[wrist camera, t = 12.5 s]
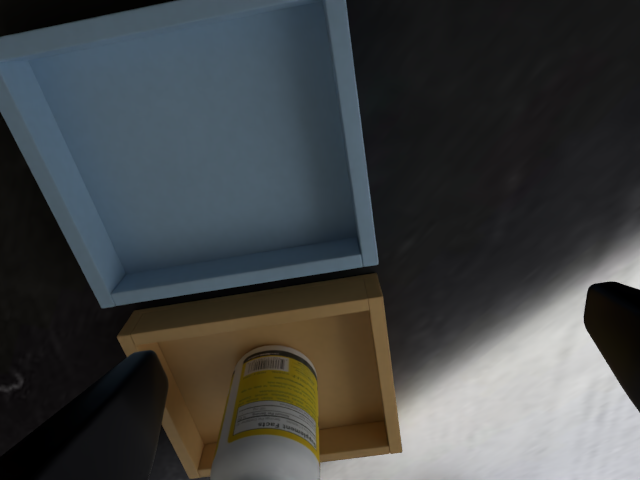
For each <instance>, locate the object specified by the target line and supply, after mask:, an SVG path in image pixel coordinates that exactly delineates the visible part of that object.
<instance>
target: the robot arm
mask: <svg viewBox="0 0 640 480" xmlns="http://www.w3.org/2000/svg"><path fill="white" fill-rule="evenodd" d="M584 324H585V327H586V329H587V331H588V333H589V334H590V336H591V338H592V339H593V341H594V342H595V344H596V346H597V347H598V349H599V351H600V352H601V354H602V355H603V357H604V359H605V360H606V362H607V364H608V365H609V367H610V368H611V370H612V372H613V373H614V375H615V376H616V378H617V380H618V381H619V383H620V385H621V386H622V388H623V389H624V391H625V392H626V394H627V395H628V397H629V398H630V400H631V401H632V402H633V404H634V405H635V406H636V408H637V409H638V411H639V412H640V290H638V289H635V288H632V287H629V286H626V285H623V284H620V283H617V282H604V283H597V284H593V285H591V286H590V287H589V289H588V292H587V298H586V305H585V311H584ZM168 388H169V383H168V378H167V375H166V373H165V371H164V369H163V367H162V364H161V362H160V360H159V358H158V356H157V354H156V353H155V352H154V351H152V350H146V351H139V352H134V353H132V354H131V355H129V356H128V357H127V358H126V359H124V360H123V361H122V362H120V363H119V364H118V365H117V366H115V367H114V368H113V369H112V370H110V371H109V372H108V373H106V374H105V375H104V376H103V377H101V378H100V379H99V380H98V381H96V382H95V383H94V384H92V385H91V386H90V387H89V388H87V389H86V390H85V391H84V392H82V393H81V394H80V395H78V396H77V397H76V398H75V399H73V400H72V401H71V402H70V403H68V404H67V405H66V406H64V407H63V408H62V409H61V410H59V411H58V412H57V413H56V414H54V415H53V416H52V417H51V418H49V419H48V420H47V421H45V422H44V423H43V424H42V425H40V426H39V427H38V428H37V429H35V430H34V431H33V432H31V433H30V434H29V435H28V436H26V437H25V438H24V439H23V440H21V441H20V442H19V443H17V444H16V445H15V446H14V447H12V448H11V449H10V450H9V451H7V452H6V453H5V454H3V455H2V456H1V457H0V480H148V479H149V475H150V472H151V468H152V465H153V461H154V458H155V453H156V449H157V444H158V439H159V434H160V429H161V424H162V419H163V414H164V409H165V404H166V399H167V394H168Z"/></svg>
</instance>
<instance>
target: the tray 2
mask: <svg viewBox="0 0 640 480" xmlns="http://www.w3.org/2000/svg"><path fill="white" fill-rule="evenodd" d="M117 339H118V341H119V342H120V344H121V346H122V348H123V350H124V352H125V354H126V356H127V357H128V356H129V355H131V354H132V353H134V352H139V351H146V350H152V351H154V352H155V353H156V354H157V356H158V358H159V360H160V362H161V364H162V367H163V369H164V371H165V373H166V375H167V378H168V383H169V388H168V394H167V399H166V404H165V409H164V414H163V419H162V426H163V428H164V430H165V432H166V434H167V436H168V438H169V440H170V442H171V444H172V445H173V447H174V449H175V451H176V453H177V455H178V457H179V459H180V461H181V463H182V465H183V467H184V469H185V471H186V473H187V475H188V477H189V478H190V479H193V478H200V477H208V476H210V473H211V467H212V462H213V458H214V453H215V449H216V444H217V440H218V436H219V431H220V427H221V422H222V418H223V413H224V409H225V405H226V400H227V396H228V391H229V387H230V383H231V379H232V375H233V372H234V369H235V366H236V364H237V363H238V361H239V360H240V359H241V358H242V357H243V356H244V355H245V354H246V353H248V352H250V351H251V350H253V349H256V348H258V347H262V346H268V345H281V346H286V347H290V348H293V349H295V350H297V351H299V352H301V353H302V354H304V355H305V356H306V357H307V358H308V359H309V360H310V361H311V362H312V364H313V366H314V368H315V370H316V374H317V384H318V415H319V455H320V462H327V461H335V460H343V459H351V458H359V457H367V456H375V455H383V454H389V453H391V454H393V453H401V452H402V445H401V437H400V429H399V421H398V413H397V405H396V397H395V389H394V381H393V373H392V365H391V357H390V349H389V341H388V333H387V325H386V317H385V309H384V301H383V295H382V292H381V288H380V284H379V281H378V277H377V273H372V274H366V275H360V276H353V277H347V278H340V279H334V280H328V281H321V282H315V283H308V284H302V285H295V286H289V287H283V288H276V289H270V290H263V291H257V292H250V293H244V294H238V295H231V296H225V297H218V298H212V299H205V300H199V301H193V302H186V303H180V304H173V305H167V306H161V307H154V308H148V309H141V310H135V311H134V312H133V313H132V315H131V316H130V318H129V319H128V321H127V322H126V324H125V325H124V327H123V328H122V330H121V331H120V333H119V334H118V336H117Z"/></svg>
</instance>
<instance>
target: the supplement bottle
mask: <svg viewBox="0 0 640 480" xmlns="http://www.w3.org/2000/svg"><path fill="white" fill-rule="evenodd" d="M210 480H320V455H319V415H318V384H317V374H316V370H315V368H314V366H313V364H312V362H311V361H310V360H309V359H308V358H307V357H306V356H305V355H304V354H302V353H301V352H299V351H297V350H295V349H293V348H290V347H286V346H281V345H268V346H262V347H258V348H256V349H253V350H251V351H250V352H248V353H246V354H245V355H244V356H243V357H242V358H241V359H240V360H239V361H238V363H237V364H236V366H235V369H234V372H233V375H232V379H231V383H230V387H229V391H228V396H227V400H226V405H225V409H224V413H223V418H222V422H221V427H220V431H219V436H218V440H217V444H216V449H215V453H214V458H213V462H212V467H211V473H210Z"/></svg>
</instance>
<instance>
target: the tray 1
mask: <svg viewBox="0 0 640 480" xmlns="http://www.w3.org/2000/svg"><path fill="white" fill-rule="evenodd" d="M0 112H1V114H2V116H3V118H4V120H5V122H6V123H7V125H8V127H9V129H10V131H11V133H12V135H13V137H14V139H15V141H16V143H17V145H18V147H19V149H20V151H21V153H22V155H23V156H24V158H25V160H26V162H27V164H28V166H29V168H30V170H31V172H32V174H33V176H34V178H35V180H36V182H37V184H38V186H39V188H40V189H41V191H42V193H43V195H44V197H45V199H46V201H47V203H48V205H49V207H50V209H51V211H52V213H53V215H54V217H55V219H56V221H57V223H58V224H59V226H60V228H61V230H62V232H63V234H64V236H65V238H66V240H67V242H68V244H69V246H70V248H71V250H72V252H73V254H74V256H75V257H76V259H77V261H78V263H79V265H80V267H81V269H82V271H83V273H84V275H85V277H86V279H87V281H88V283H89V285H90V287H91V289H92V290H93V292H94V294H95V296H96V298H97V300H98V302H99V304H100V306H101V308H107V307H113V306H116V305H117V306H118V305H124V304H131V303H137V302H143V301H150V300H156V299H162V298H169V297H175V296H182V295H188V294H194V293H201V292H207V291H213V290H220V289H226V288H232V287H239V286H245V285H252V284H258V283H264V282H271V281H277V280H283V279H290V278H296V277H303V276H309V275H315V274H322V273H328V272H334V271H341V270H347V269H353V268H360V267H362V266H364V267H366V266H372V265H378V263H379V262H378V254H377V246H376V238H375V230H374V222H373V214H372V206H371V198H370V190H369V182H368V174H367V166H366V158H365V150H364V142H363V134H362V126H361V118H360V110H359V102H358V94H357V86H356V78H355V70H354V62H353V54H352V46H351V38H350V30H349V22H348V14H347V6H346V0H175V1H170V2H165V3H161V4H156V5H151V6H146V7H141V8H137V9H132V10H127V11H122V12H117V13H112V14H108V15H103V16H98V17H93V18H88V19H84V20H79V21H74V22H69V23H64V24H59V25H55V26H50V27H45V28H40V29H35V30H31V31H26V32H21V33H16V34H11V35H6V36H2V37H0Z"/></svg>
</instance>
